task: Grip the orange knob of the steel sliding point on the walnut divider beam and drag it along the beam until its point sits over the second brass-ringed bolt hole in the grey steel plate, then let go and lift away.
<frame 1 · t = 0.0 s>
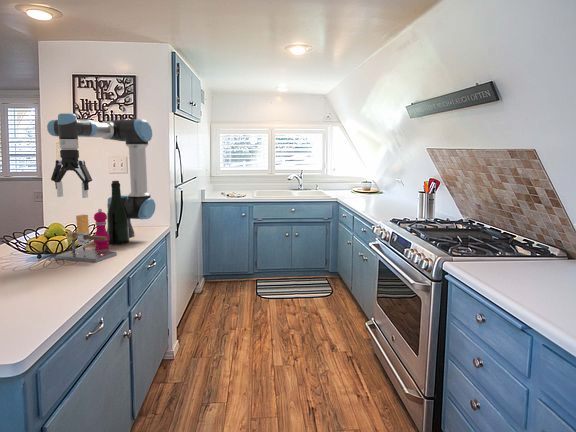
hand: (72, 197, 207), 28 cm above the worktop, tool pointing down, fingers open, 13 cm apart
bolt plate: (86, 256, 213), on the worktop
pepper mill: (102, 248, 231), on the worktop
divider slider: (83, 233, 212), point 11 cm above the worktop, slide at 6.0 cm
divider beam: (87, 243, 212), on the bolt plate, point 6 cm above the worktop
beer bottle: (118, 243, 243), on the worktop
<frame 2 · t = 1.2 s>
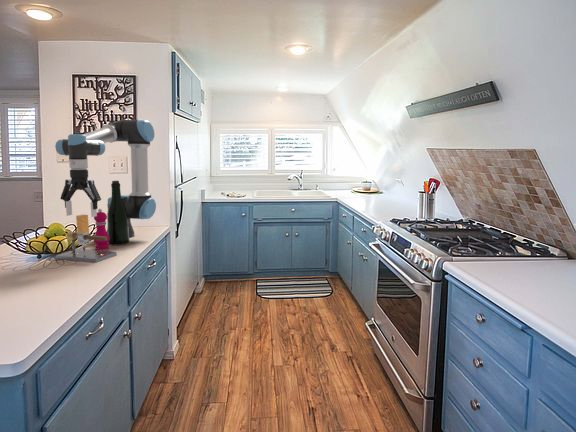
hand: (81, 215, 210), 19 cm above the worktop, tool pointing down, fingers open, 13 cm apart
nothing on the worktop moved.
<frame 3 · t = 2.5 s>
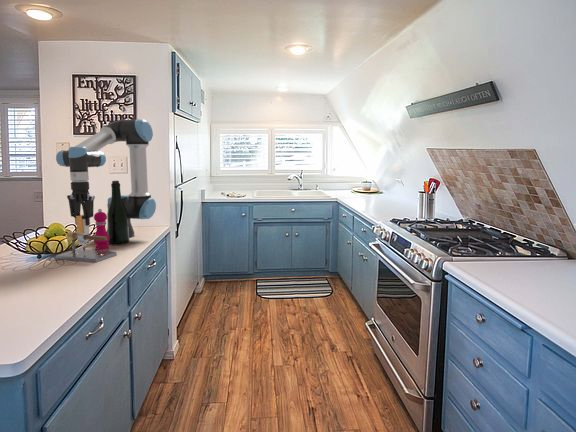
hand: (83, 232, 212), 12 cm above the worktop, tool pointing down, fingers closed on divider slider, 3 cm apart
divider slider: (83, 233, 212), point 11 cm above the worktop, slide at 6.0 cm, touching gripper
everything else where it was.
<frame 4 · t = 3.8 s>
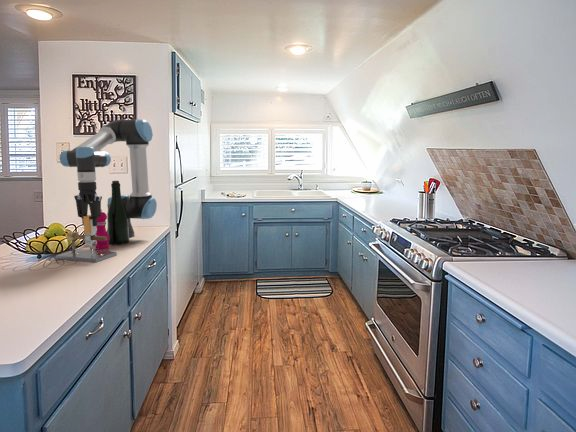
hand: (90, 232, 210), 12 cm above the worktop, tool pointing down, fingers closed on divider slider, 3 cm apart
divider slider: (90, 234, 211), point 11 cm above the worktop, slide at 10.0 cm, touching gripper
everything else where it was.
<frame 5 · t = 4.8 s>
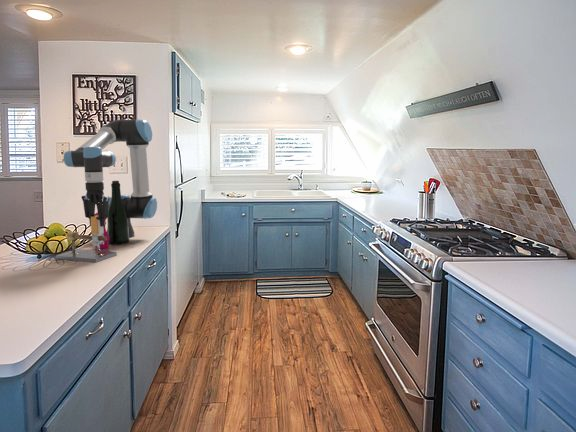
hand: (97, 233, 209), 12 cm above the worktop, tool pointing down, fingers closed on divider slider, 3 cm apart
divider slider: (97, 234, 209), point 11 cm above the worktop, slide at 13.9 cm, touching gripper
everything else where it was.
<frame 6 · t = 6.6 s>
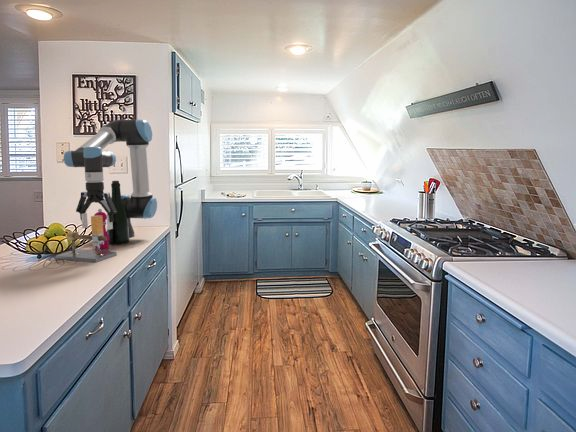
hand: (97, 228, 209), 14 cm above the worktop, tool pointing down, fingers open, 13 cm apart
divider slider: (97, 234, 209), point 11 cm above the worktop, slide at 14.0 cm
everything else where it was.
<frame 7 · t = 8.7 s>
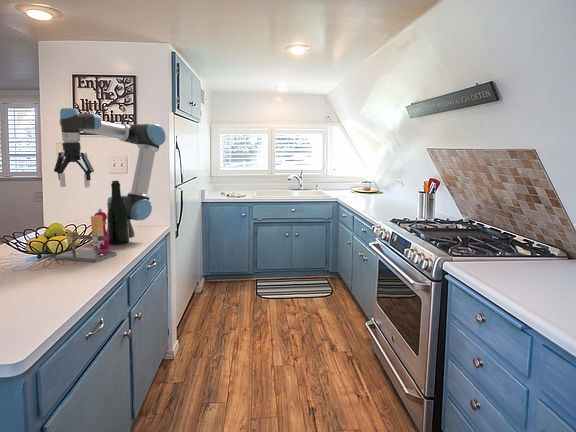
hand: (75, 187, 220), 31 cm above the worktop, tool pointing down, fingers open, 13 cm apart
nothing on the worktop moved.
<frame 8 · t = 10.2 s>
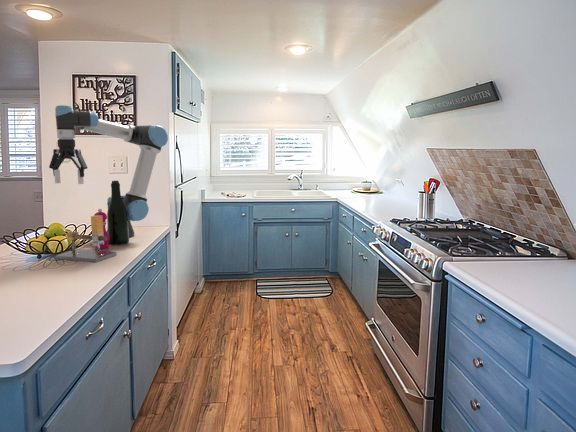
hand: (69, 183, 222), 33 cm above the worktop, tool pointing down, fingers open, 13 cm apart
beer bottle: (118, 243, 243), on the worktop, touching arm
everything else where it was.
at the end: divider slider slide at 14.0 cm; the gripper is holding nothing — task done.
